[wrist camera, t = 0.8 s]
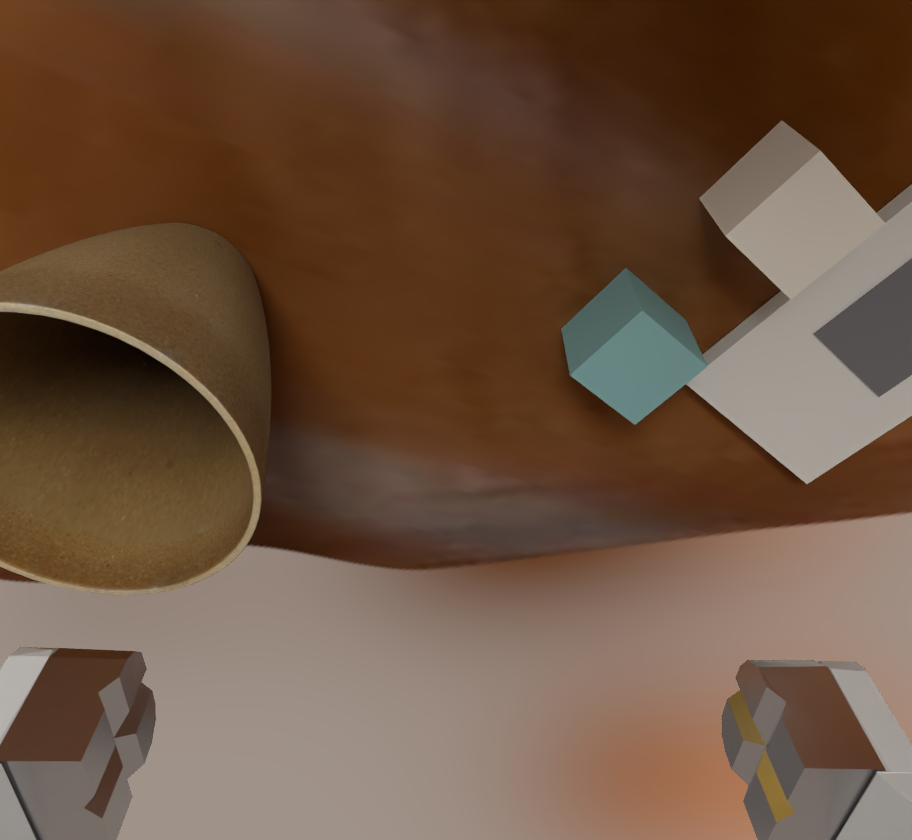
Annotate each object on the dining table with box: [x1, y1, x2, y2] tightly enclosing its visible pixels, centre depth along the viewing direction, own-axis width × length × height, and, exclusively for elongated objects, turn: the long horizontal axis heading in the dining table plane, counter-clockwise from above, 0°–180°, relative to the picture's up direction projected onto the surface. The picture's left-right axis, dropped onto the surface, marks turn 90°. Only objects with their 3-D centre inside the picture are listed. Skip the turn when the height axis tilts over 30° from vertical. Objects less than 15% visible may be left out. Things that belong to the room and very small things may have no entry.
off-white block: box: [699, 120, 886, 299], centre depth 35 cm, size 5×5×5 cm
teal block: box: [561, 268, 708, 425], centre depth 40 cm, size 5×5×5 cm
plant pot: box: [0, 223, 271, 595], centre depth 35 cm, size 15×15×16 cm
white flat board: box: [686, 184, 912, 484], centre depth 40 cm, size 20×12×1 cm, turn 140°
